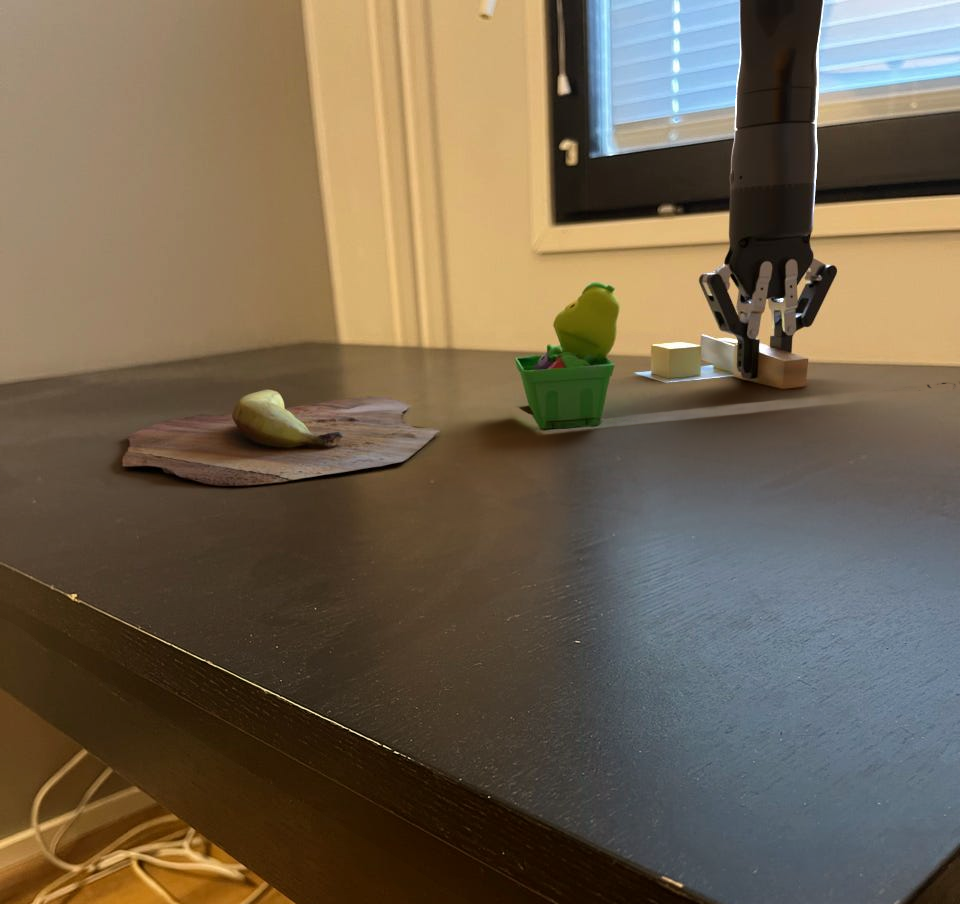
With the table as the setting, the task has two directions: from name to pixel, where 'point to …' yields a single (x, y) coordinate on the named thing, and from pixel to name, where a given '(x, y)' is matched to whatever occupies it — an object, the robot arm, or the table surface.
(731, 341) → the butter pat
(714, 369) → the butter dish
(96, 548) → the table surface
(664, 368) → the butter stick
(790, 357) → the knife
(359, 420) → the cutting board
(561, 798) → the table surface
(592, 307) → the fruit basket
